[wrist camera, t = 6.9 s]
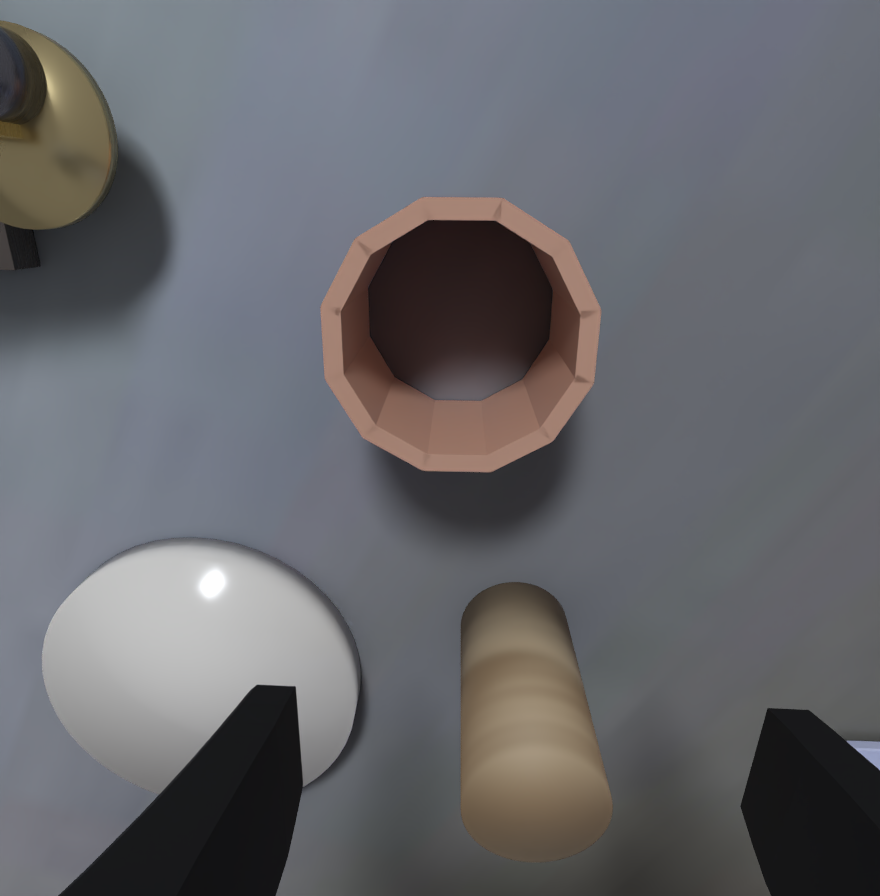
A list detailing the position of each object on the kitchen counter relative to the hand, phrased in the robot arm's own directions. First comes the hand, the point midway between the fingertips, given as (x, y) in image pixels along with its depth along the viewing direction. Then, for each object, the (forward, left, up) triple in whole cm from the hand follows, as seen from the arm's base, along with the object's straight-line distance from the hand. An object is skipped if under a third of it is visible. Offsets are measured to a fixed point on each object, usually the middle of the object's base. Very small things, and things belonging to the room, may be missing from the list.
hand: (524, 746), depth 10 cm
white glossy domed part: (-7, +9, -9) cm, 15 cm away
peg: (-5, -1, -9) cm, 10 cm away
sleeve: (+5, +1, -9) cm, 11 cm away
